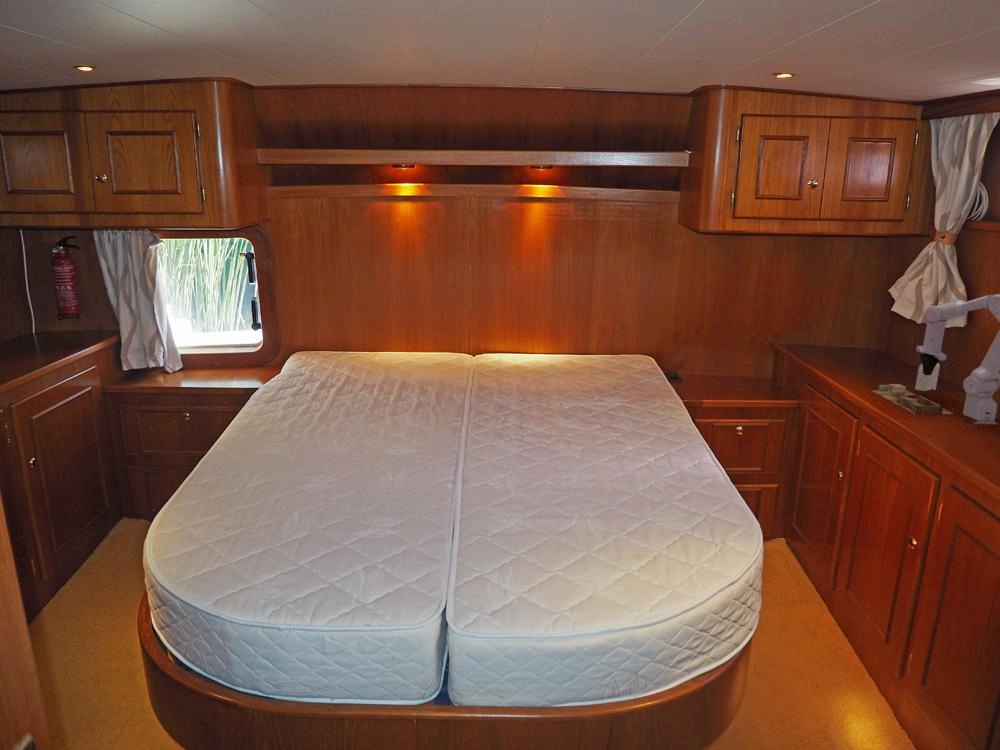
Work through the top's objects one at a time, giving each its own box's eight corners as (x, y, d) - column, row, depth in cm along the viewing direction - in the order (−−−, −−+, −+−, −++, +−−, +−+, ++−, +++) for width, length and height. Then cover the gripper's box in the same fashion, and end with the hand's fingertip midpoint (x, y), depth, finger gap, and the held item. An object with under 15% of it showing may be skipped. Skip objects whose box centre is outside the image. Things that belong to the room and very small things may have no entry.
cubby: (941, 413, 246) (943, 406, 245) (917, 413, 246) (919, 406, 245) (919, 402, 258) (920, 395, 258) (896, 402, 258) (897, 395, 257)
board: (953, 417, 246) (955, 407, 245) (913, 417, 246) (915, 407, 245) (906, 394, 273) (907, 385, 272) (870, 394, 273) (871, 384, 272)
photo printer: (924, 395, 272) (929, 364, 269) (912, 392, 276) (918, 361, 273) (937, 391, 278) (942, 360, 275) (925, 388, 282) (931, 358, 278)
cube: (904, 397, 264) (905, 387, 263) (893, 397, 264) (895, 387, 263) (897, 394, 268) (899, 384, 267) (887, 394, 268) (889, 384, 267)
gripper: (911, 334, 265) (905, 369, 268) (935, 343, 251) (928, 380, 254) (929, 334, 265) (923, 369, 269) (954, 343, 251) (947, 380, 255)
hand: (927, 374), depth 261 cm, fingers closed
